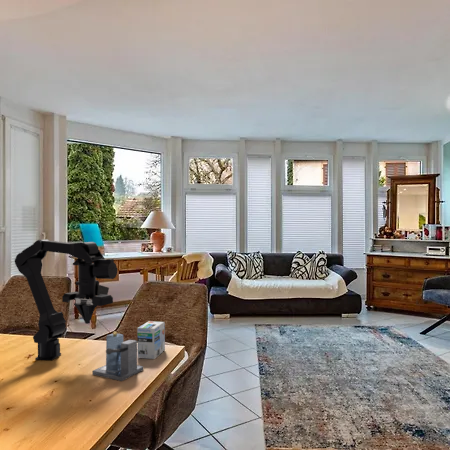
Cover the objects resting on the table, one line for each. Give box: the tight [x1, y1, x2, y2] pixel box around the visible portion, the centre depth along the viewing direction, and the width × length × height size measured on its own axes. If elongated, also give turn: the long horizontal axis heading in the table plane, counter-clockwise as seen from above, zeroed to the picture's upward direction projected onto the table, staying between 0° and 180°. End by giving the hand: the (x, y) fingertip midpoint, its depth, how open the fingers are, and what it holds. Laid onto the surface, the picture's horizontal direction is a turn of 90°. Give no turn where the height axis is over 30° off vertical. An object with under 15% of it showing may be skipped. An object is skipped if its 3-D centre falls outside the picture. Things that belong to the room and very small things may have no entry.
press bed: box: [92, 339, 144, 382], centre depth 121 cm, size 12×14×11 cm
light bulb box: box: [136, 320, 166, 360], centre depth 141 cm, size 11×7×11 cm, turn 168°
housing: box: [105, 331, 124, 370], centre depth 124 cm, size 5×5×11 cm
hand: (87, 323), depth 134 cm, fingers closed
